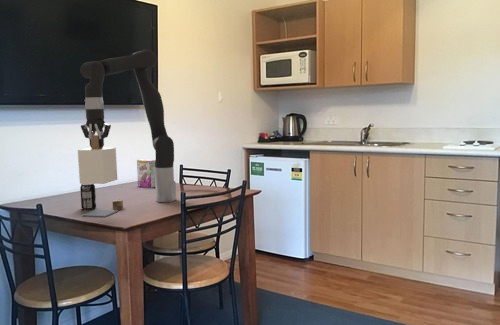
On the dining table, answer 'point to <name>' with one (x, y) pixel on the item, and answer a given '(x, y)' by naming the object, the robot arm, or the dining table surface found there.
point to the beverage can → (88, 196)
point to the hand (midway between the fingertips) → (97, 147)
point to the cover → (97, 164)
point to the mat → (100, 213)
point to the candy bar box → (146, 173)
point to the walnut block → (117, 204)
